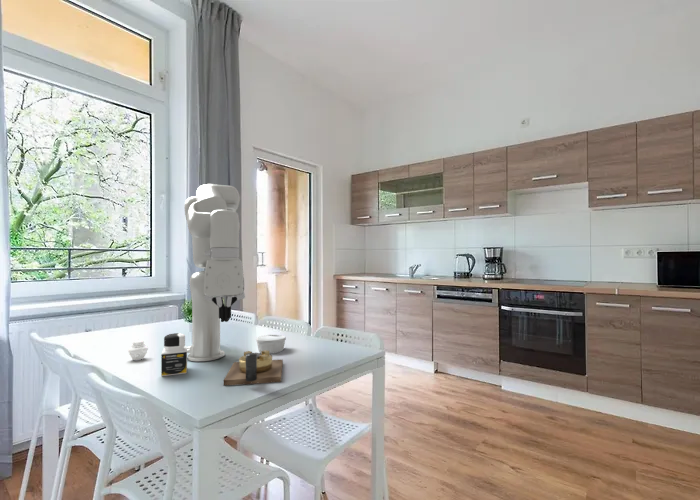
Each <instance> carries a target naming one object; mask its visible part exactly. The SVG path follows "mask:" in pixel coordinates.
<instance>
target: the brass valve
mask: <svg viewBox="0 0 700 500" xmlns="http://www.w3.org/2000/svg"><path fill="white" fill-rule="evenodd" d="M272 360H273V355H271V354H269V351H267V350H264V351H261V352H253V351H251V350H247V351H244V352H243V355H242V356H240V357H239V359H238V362H239V371H241V372H244V373H246V381H255V380H257V373H259V372H264V371H267V370H270V369H271V368H272Z"/></svg>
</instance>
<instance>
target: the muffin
mask: <svg viewBox="0 0 700 500" xmlns="http://www.w3.org/2000/svg"><path fill="white" fill-rule="evenodd" d="M148 350H149V347H148V346H147V345H146V344H145V342H144V341H143V340H139V339H137V340H134V341H133V342H132V345H131V346H130V347H129V349H128V350H127V351H128V354H129V355H130V358H131V360H133V361H142V360H144V358H145V357H146V354H147V353H148ZM141 359H142V360H141Z"/></svg>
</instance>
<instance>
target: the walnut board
mask: <svg viewBox="0 0 700 500" xmlns="http://www.w3.org/2000/svg"><path fill="white" fill-rule="evenodd" d="M283 361H284V359H272V368H271V369H270V370H267V371H264V372H259V373H257V380H255V381H246V373H244V372H241V371H239V361H234V362H232V365H231V367H230V368H229V370H228V372H227V374H226V375H225V377H224V379H223V386H236V385H237V386H238V385H239V386H240V385H252V384H253V385H254V384H269V383H281V382H282V374H283V367H284V364H283V363H284V362H283Z"/></svg>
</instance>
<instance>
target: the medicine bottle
mask: <svg viewBox="0 0 700 500" xmlns="http://www.w3.org/2000/svg"><path fill="white" fill-rule="evenodd" d="M187 347H188V346H187V345H186V335H185V334H183V333H178V332H177V333H169V334H166V335H165V336H164V338H163V349H162V352H161V355H160V358H161V361H160V364H161V366H160V367H161V369H160V370H161V371H160V373H161V374H160V376H161V377H169V376H176V375H183V374H187V372H188V353H187Z"/></svg>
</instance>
